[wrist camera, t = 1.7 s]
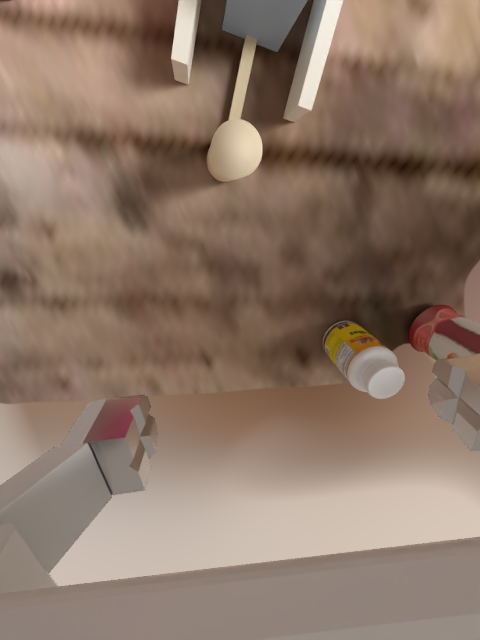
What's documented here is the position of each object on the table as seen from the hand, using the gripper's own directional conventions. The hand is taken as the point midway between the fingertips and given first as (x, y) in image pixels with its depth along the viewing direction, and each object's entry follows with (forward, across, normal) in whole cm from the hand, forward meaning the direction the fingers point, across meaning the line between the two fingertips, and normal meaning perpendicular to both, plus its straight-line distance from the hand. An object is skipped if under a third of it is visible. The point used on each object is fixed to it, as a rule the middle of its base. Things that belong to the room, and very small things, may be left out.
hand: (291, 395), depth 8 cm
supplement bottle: (+27, +12, -14) cm, 33 cm away
